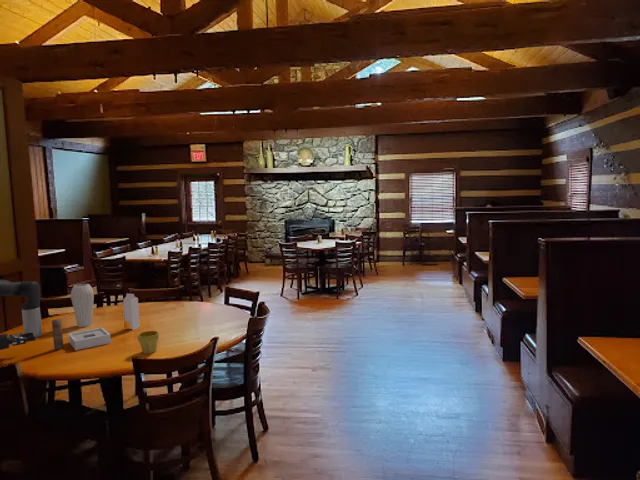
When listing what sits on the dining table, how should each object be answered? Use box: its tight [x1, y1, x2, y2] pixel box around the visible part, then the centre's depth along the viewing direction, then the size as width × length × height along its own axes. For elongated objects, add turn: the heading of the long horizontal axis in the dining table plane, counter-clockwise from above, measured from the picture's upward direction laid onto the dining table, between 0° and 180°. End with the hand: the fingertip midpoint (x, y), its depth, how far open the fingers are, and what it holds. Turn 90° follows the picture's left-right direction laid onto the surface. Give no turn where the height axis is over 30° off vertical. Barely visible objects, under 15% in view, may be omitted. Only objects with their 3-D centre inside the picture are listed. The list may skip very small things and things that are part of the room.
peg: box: [51, 318, 65, 351], centre depth 257 cm, size 4×4×16 cm
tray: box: [67, 327, 112, 351], centre depth 267 cm, size 18×18×5 cm
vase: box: [70, 283, 95, 328], centre depth 301 cm, size 13×13×26 cm
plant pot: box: [137, 330, 160, 354], centre depth 249 cm, size 10×10×10 cm
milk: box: [122, 293, 141, 331], centre depth 291 cm, size 6×6×22 cm
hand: (34, 336), depth 250 cm, fingers open, 8 cm apart
